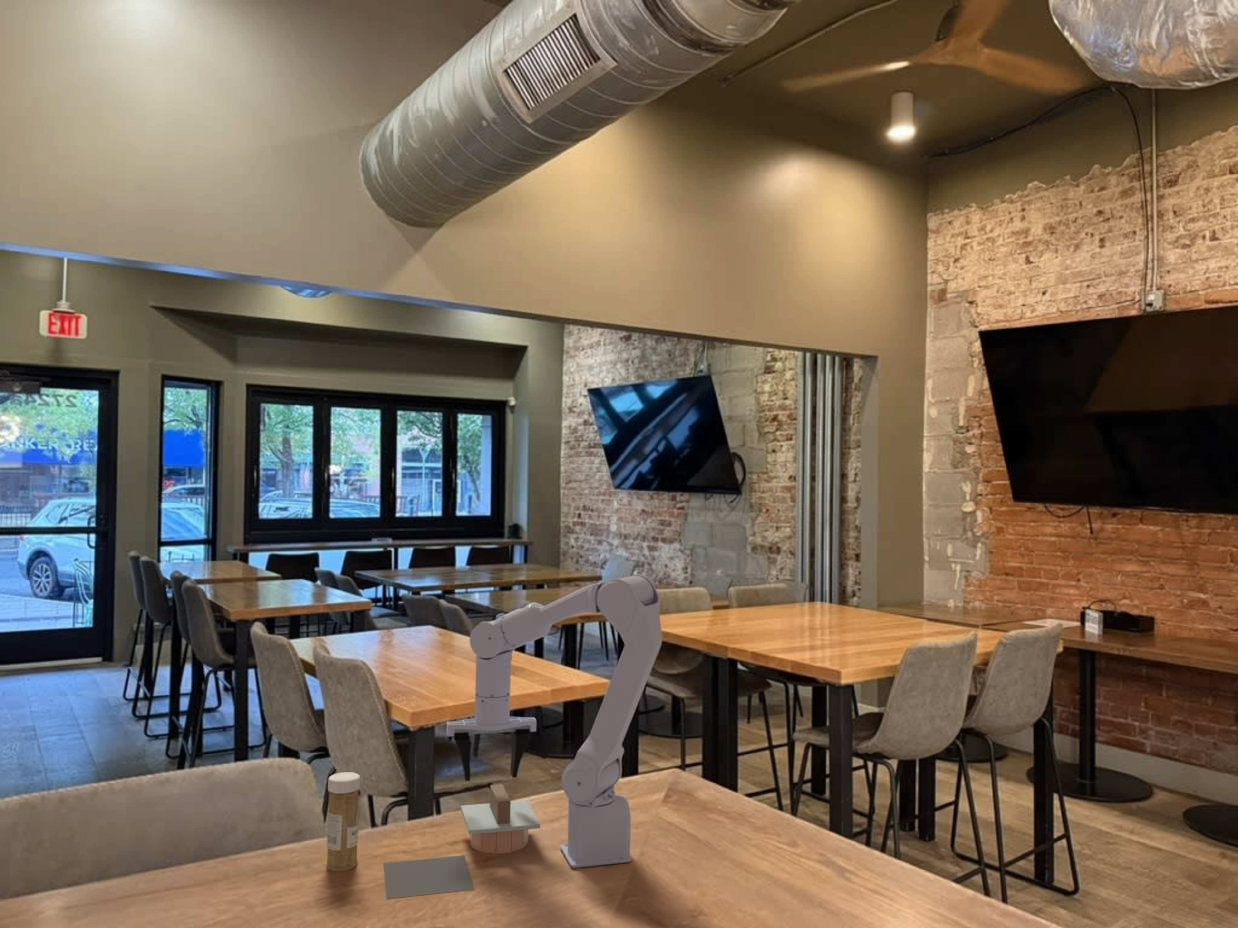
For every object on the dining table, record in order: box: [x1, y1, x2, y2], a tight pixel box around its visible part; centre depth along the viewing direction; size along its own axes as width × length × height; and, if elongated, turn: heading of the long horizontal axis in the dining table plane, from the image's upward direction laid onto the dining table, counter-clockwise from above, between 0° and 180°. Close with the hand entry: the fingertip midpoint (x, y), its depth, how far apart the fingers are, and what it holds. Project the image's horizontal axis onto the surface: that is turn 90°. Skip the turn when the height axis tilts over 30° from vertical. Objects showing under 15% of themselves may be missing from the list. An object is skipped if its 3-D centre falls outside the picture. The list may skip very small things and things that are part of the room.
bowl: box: [469, 829, 529, 855], centre depth 141 cm, size 9×9×4 cm
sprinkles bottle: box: [325, 771, 361, 872], centre depth 132 cm, size 5×5×14 cm
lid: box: [460, 783, 541, 836], centre depth 142 cm, size 11×11×4 cm
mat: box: [383, 854, 475, 900], centre depth 128 cm, size 12×12×1 cm
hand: (490, 777), depth 145 cm, fingers open, 7 cm apart
